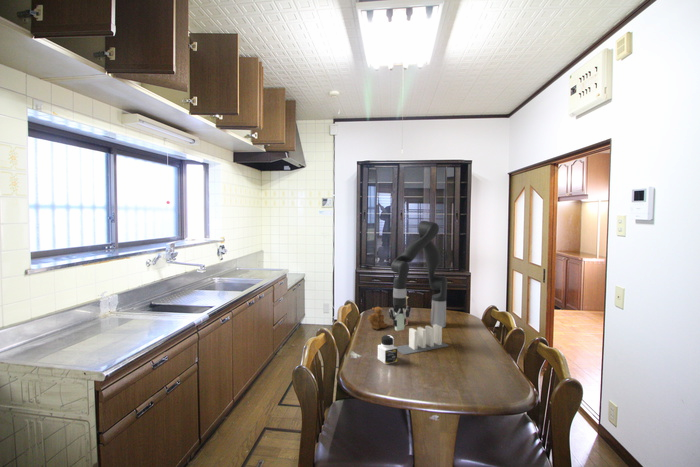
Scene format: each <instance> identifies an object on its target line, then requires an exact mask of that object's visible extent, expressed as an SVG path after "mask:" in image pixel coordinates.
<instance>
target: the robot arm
mask: <svg viewBox="0 0 700 467" xmlns="http://www.w3.org/2000/svg"><path fill="white" fill-rule="evenodd" d="M417 227H418V228H417V231H418V232H417V233H418V236H419V239H418V240H416V241H413V242H412V243H410V244H409V245H408V246H407V247H406V249H404V251H403V252H402V254H400V255H399V256H397V257H396V258H395V259H393V260H392V263H391V265H390V270H391V271H392V272H393V273H396V274H397V273H398V275H397V276H396V277H394V278H393V288H392V289H393V290H392V304H393V305H392V307H391V308H388V315H389V319H391V320H392V325H393V326H394V328H395V327H397V317H398V315H399V314H403V315H404V325H405V324H406V318H407V317H408V318H410V315H411V314H410V313H411V306H409V305H407V306H406V296H407V278H408V275H409V272H410V266H409V263H412V262H413V261H414V259H415V258H416V257H417V256H418V254H419V253H420V252H421V251H423V252H424V253H423V254H424V258H425V262H426V267H427V268H426V269H427V272H428V273H427V274H428V281H429V282H428V283H429V287H430V289H432V290H436V291H437V290H438V291H440V292H439V293H435V294H432V295H431V309H430V325H431V327H433V325H435V324H437V325H439V326H441V327H442V329H443V328H446V327H447V326H446V325H447V292H448V291H447V290H448V279H447V277H446V276H445V275H443V276H442V275H436V270H437V269H438V268H439V265H441V260H442V259H441V254H440V251H439V248H438V247H437V246H436V245H435V244H434V241H433V240H434V238H436V237H437V235H438V233H439V229H440V226H439V224H438V223H437V222H434V221H433V222H432V221H428V220H421V221H420V222H419V223H418V226H417ZM422 249H423V250H422ZM405 309H406V312H405ZM395 313H397V314H395ZM405 326H406V325H405Z"/></svg>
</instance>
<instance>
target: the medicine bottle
mask: <svg viewBox="0 0 700 467" xmlns="http://www.w3.org/2000/svg"><path fill="white" fill-rule="evenodd" d="M380 340H381V341H380V342H381V344H378V345H377V360H378V361H380V362H382V363H383V364H384V365H389V364H394V363H397V362H398V351H397V346H395V345H394V344H395V338H394V337H393V336H392V335H391V334H390V335H388V334H385V335H382V336H381V338H380Z"/></svg>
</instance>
